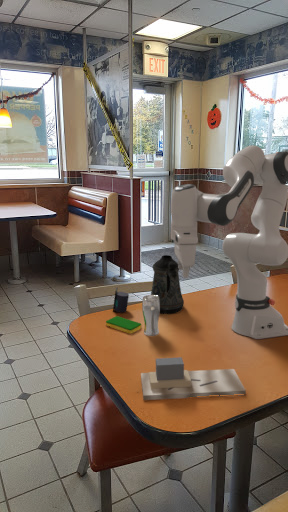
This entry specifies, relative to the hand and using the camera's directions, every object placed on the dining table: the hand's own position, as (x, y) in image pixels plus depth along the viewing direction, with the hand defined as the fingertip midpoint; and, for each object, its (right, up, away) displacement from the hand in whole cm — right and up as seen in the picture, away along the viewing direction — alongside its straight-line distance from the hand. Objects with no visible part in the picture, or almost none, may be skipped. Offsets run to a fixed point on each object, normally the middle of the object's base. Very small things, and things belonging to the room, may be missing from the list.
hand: (183, 273), depth 133 cm
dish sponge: (-22, -24, +27) cm, 43 cm away
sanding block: (-6, -32, -16) cm, 37 cm away
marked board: (+1, -34, -15) cm, 37 cm away
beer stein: (-2, -19, +46) cm, 50 cm away
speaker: (-24, -19, +45) cm, 54 cm away
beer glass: (-11, -25, +21) cm, 34 cm away
